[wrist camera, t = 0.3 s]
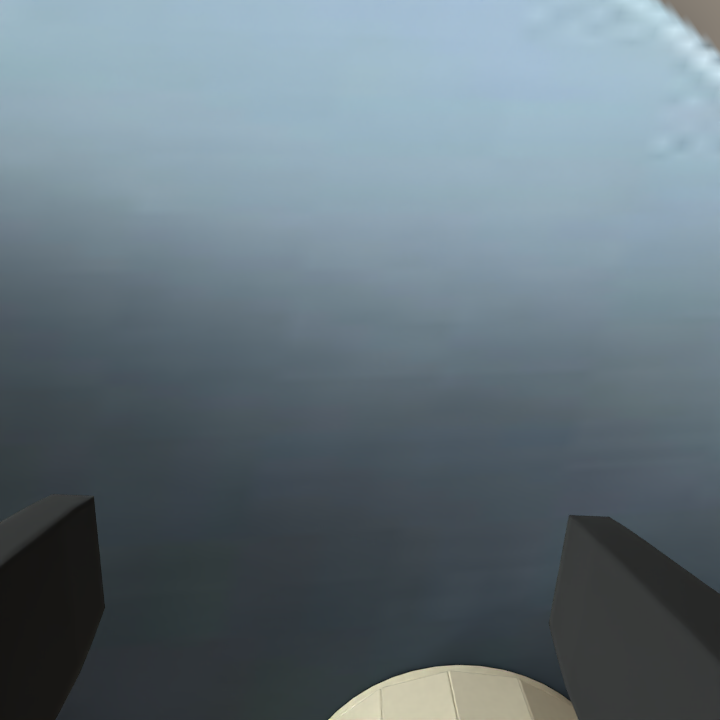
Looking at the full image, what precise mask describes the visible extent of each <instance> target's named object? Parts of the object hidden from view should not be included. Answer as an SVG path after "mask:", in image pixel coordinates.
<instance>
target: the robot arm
mask: <svg viewBox="0 0 720 720" xmlns="http://www.w3.org/2000/svg"><path fill="white" fill-rule="evenodd" d="M104 609H105V604H104V594H103V584H102V574H101V564H100V554H99V544H98V534H97V524H96V514H95V504H94V496H83V495H58V494H52V495H50V496H48V497H46V498H44V499H42V500H40V501H38V502H36V503H34V504H32V505H30V506H28V507H26V508H24V509H23V510H21V511H19V512H17V513H15V514H14V515H12V516H10V517H8V518H7V519H5V520H3V521H1V522H0V720H55V719H56V717H57V715H58V713H59V712H60V710H61V708H62V706H63V704H64V702H65V700H66V698H67V696H68V695H69V693H70V691H71V689H72V687H73V685H74V683H75V681H76V679H77V677H78V675H79V673H80V671H81V669H82V666H83V664H84V661H85V659H86V656H87V654H88V651H89V649H90V646H91V644H92V641H93V638H94V636H95V633H96V630H97V628H98V625H99V622H100V619H101V617H102V614H103V611H104ZM549 626H550V630H551V634H552V638H553V642H554V646H555V650H556V654H557V658H558V662H559V665H560V669H561V672H562V676H563V679H564V683H565V686H566V690H567V692H568V695H569V697H570V700H571V702H572V705H573V708H574V710H575V713H576V715H577V718H578V720H720V594H719V593H717V592H716V591H715V590H713V589H712V588H710V587H709V586H707V585H706V584H705V583H703V582H702V581H700V580H699V579H698V578H696V577H695V576H693V575H692V574H691V573H689V572H688V571H686V570H685V569H684V568H682V567H681V566H680V565H678V564H677V563H675V562H674V561H673V560H671V559H670V558H668V557H667V556H666V555H664V554H663V553H661V552H660V551H659V550H657V549H656V548H655V547H653V546H652V545H650V544H649V543H647V542H646V541H645V540H643V539H642V538H640V537H639V536H638V535H636V534H635V533H633V532H632V531H630V530H629V529H627V528H626V527H624V526H623V525H621V524H620V523H618V522H616V521H615V520H613V519H611V518H610V517H600V516H575V515H569V518H568V524H567V529H566V534H565V540H564V545H563V551H562V556H561V561H560V567H559V572H558V577H557V583H556V588H555V593H554V599H553V604H552V609H551V615H550V620H549Z"/></svg>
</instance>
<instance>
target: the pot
mask: <svg viewBox="0 0 720 720" xmlns="http://www.w3.org/2000/svg"><path fill="white" fill-rule="evenodd" d="M329 720H578V718H577V715H576V713H575V710H574V708H573V705H572V702H570V701H569V700H568V699H566V698H565V697H564V696H563V695H561V694H559V693H558V692H556V691H554V690H553V689H551V688H549V687H548V686H546V685H544V684H542V683H540V682H537V681H535V680H533V679H530V678H528V677H526V676H523V675H520V674H516V673H513V672H509V671H506V670H502V669H496V668H490V667H484V666H470V665H451V666H437V667H431V668H425V669H420V670H415V671H411V672H408V673H405V674H402V675H398V676H395V677H392V678H390V679H388V680H385V681H383V682H381V683H379V684H377V685H374V686H372V687H370V688H369V689H367V690H366V691H364V692H362V693H361V694H359V695H357V696H356V697H354V698H353V699H351V700H350V701H349V702H348V703H346V704H345V705H344V706H343V707H341V708H340V709H339V710H338V711H337V712H336V713H335V714H334V715H333V716H332V717H331V718H330V719H329Z"/></svg>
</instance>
